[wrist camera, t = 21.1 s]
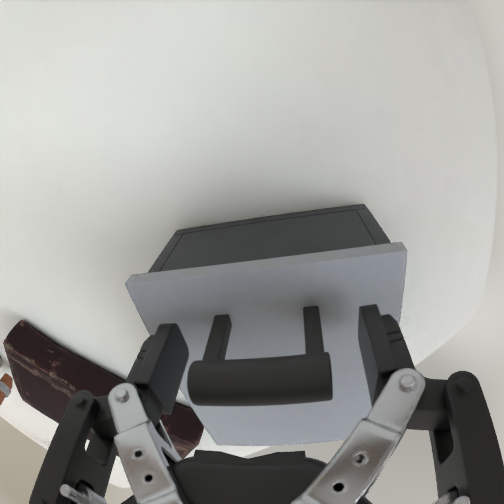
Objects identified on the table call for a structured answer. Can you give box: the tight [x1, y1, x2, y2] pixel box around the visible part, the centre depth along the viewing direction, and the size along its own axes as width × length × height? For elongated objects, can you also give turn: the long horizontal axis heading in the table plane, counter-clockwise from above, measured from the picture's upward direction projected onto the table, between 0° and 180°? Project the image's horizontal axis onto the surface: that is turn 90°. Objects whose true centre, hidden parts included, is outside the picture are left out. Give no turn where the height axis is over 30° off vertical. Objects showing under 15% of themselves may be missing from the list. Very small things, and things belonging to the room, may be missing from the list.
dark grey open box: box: [148, 204, 391, 273], centre depth 20 cm, size 16×13×7 cm
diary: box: [3, 320, 204, 459], centre depth 31 cm, size 19×25×5 cm
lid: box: [125, 242, 407, 446], centre depth 14 cm, size 16×13×5 cm
